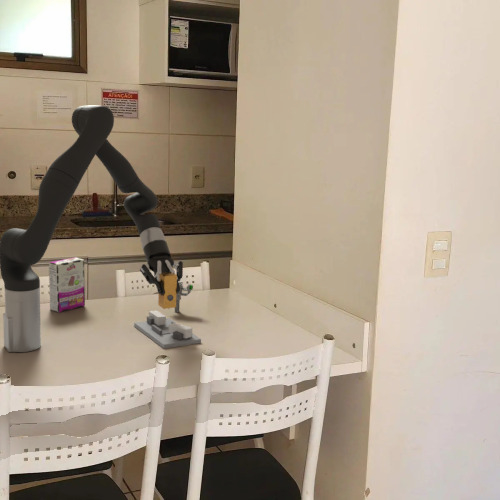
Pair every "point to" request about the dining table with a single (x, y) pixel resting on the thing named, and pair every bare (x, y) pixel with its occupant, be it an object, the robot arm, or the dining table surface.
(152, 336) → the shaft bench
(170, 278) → the block
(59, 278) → the candy bar box
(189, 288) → the mechanical component
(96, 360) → the dining table surface
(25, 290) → the robot arm
